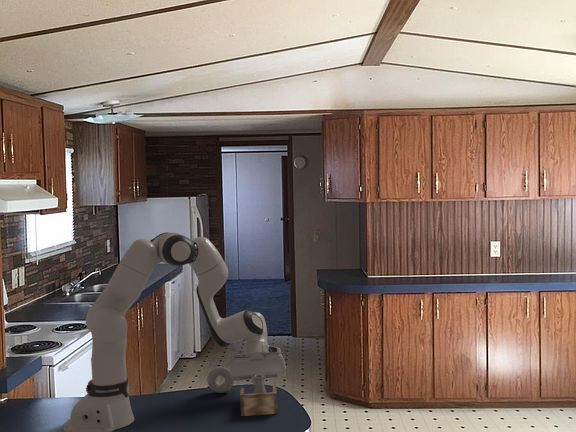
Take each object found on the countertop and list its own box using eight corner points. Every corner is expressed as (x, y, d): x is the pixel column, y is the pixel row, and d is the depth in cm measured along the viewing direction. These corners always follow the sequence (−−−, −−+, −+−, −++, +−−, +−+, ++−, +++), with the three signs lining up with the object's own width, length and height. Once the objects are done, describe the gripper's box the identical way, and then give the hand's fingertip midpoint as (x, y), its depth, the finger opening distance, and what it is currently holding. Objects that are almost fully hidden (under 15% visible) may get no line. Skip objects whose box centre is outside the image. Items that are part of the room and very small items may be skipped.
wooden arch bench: (240, 416, 209) (239, 395, 209) (241, 404, 220) (240, 384, 220) (278, 413, 210) (277, 393, 209) (276, 402, 221) (275, 382, 220)
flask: (266, 408, 215) (265, 380, 214) (247, 406, 217) (245, 379, 216) (273, 400, 222) (271, 372, 221) (254, 398, 224) (252, 371, 223)
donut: (207, 394, 232) (205, 368, 232) (208, 391, 236) (207, 365, 235) (233, 394, 232) (232, 367, 231) (235, 391, 235) (233, 364, 234)
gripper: (228, 352, 227) (229, 387, 218) (284, 347, 229) (287, 382, 220) (229, 360, 232) (230, 395, 223) (284, 356, 233) (287, 390, 224)
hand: (259, 389), depth 221 cm, fingers closed, pressing on flask
